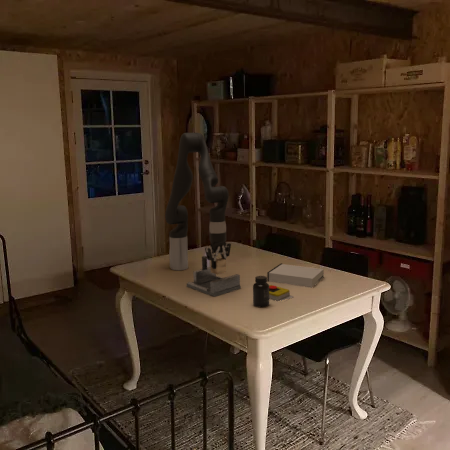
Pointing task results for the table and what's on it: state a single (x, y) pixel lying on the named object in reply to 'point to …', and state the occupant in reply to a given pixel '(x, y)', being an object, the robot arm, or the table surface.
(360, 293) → the table surface
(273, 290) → the emergency button
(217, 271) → the maple block
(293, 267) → the disc drive
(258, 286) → the supplement bottle
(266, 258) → the table surface
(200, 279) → the jaw
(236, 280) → the press
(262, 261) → the table surface
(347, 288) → the table surface
